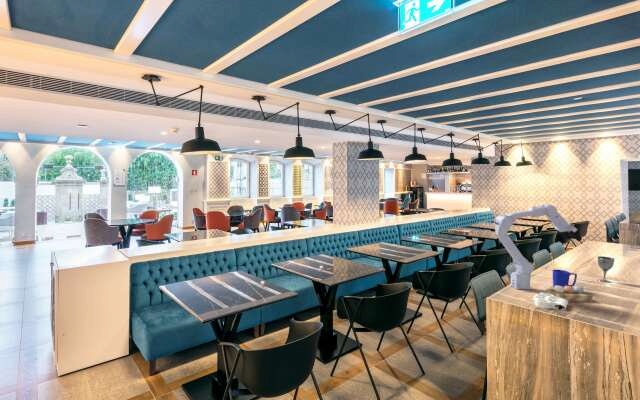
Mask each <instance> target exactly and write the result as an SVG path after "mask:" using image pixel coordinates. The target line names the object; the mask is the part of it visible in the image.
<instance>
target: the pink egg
mask: <svg viewBox="0 0 640 400" xmlns="http://www.w3.org/2000/svg"><path fill="white" fill-rule="evenodd" d="M564 292H565V293H568V294H573V292H574V286H572V287H571V286H564Z"/></svg>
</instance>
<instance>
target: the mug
mask: <svg viewBox="0 0 640 400" xmlns="http://www.w3.org/2000/svg"><path fill="white" fill-rule="evenodd" d="M571 275H574V279H573V282H572V284H569V282H570V276H571ZM577 277H578V274H577V273H574V272H570V271H567V270H564V269H563V270H562V269H552V286H553V288H554V287H555V286H562V287H564V286H571V287H574V286H576V283H577Z"/></svg>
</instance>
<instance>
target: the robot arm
mask: <svg viewBox="0 0 640 400" xmlns="http://www.w3.org/2000/svg"><path fill="white" fill-rule="evenodd" d="M543 216H546V217H547V218H548V220H549V221H550V222H551V223H552V224H553V225H554V227H553V228H554V229H555V230H556V234H558V235H561V236H562V237H563V238H565V239H567V240H569V241H570V240H571V239H572V238H574V240H575V241H577V242H581V240H583V238H582V236H581V234H580V228H578V227H575V226H573V225H572V223H571V222H567V220H566V219H565V218H564V217H563V216H562V215H561V214H560V213H559V212H558V209H557V207H556V206H554V205H551V204H541V205H539V206H535V205H532V206H531V207H529V208H528V209H527V210H523V211H521V210H520V211H515V212H509V213H508V212H507V213H503V214H500V215H497V216H496V217H495V218H494V221H493V224H494V229H495V230H494V233H495V235H496V236H497V238H498V240H499V241H500V243H501V244H502V245H503V247H504V248H505V250H506V251H507V252H508V254H509V255H510V257H511V258H512V262H513V266H514V267H515V271H512V272H511V274H510V283H509V286H511V287H512V288H514V289H517V290H534V288H533V287H531V276H532V273H533V271H534V269H535V267H534V264H533V263H531V262H530V261H529V260H528V259H527V258H525V256H523V254H522V253H521V252H520V250H519V248H517V246H516V244H515V243H514V241H513V240H512V239H511V237H510V236H509V235H508V232H509V231H510V229H511V228H512V227H513V225H514V223H516V221H517V219H521V218H527V217H530V218H540V217H543Z"/></svg>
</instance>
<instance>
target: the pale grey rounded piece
mask: <svg viewBox="0 0 640 400" xmlns="http://www.w3.org/2000/svg"><path fill="white" fill-rule="evenodd" d="M553 289H554V292H556V293H564V287H562V286H555V287H554V286H553Z"/></svg>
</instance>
